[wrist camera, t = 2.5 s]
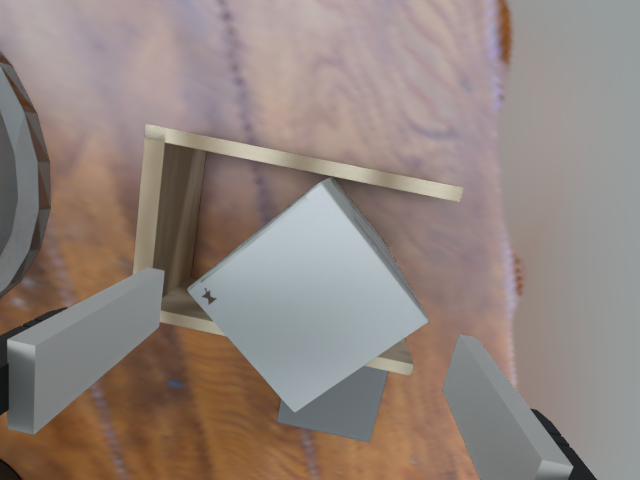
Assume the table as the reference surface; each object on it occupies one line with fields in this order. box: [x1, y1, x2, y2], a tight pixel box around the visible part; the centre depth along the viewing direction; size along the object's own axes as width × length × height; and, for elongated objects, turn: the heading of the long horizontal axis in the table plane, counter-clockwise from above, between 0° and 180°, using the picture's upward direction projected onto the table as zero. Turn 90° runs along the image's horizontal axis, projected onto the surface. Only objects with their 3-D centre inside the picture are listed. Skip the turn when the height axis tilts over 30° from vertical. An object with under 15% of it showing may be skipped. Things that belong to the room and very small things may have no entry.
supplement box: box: [187, 176, 429, 412], centre depth 26 cm, size 10×9×17 cm
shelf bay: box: [133, 124, 464, 376], centre depth 31 cm, size 23×15×8 cm, turn 79°
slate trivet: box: [277, 366, 388, 442], centre depth 37 cm, size 10×10×1 cm
